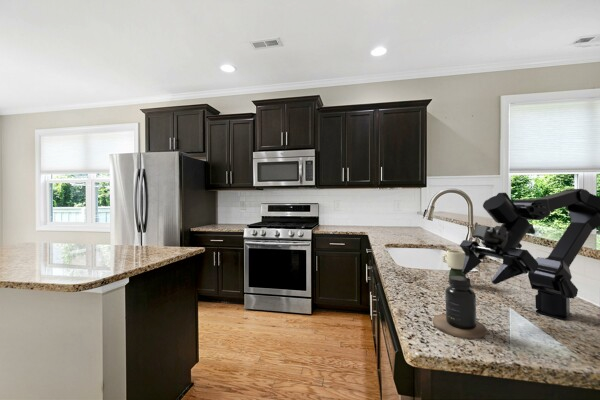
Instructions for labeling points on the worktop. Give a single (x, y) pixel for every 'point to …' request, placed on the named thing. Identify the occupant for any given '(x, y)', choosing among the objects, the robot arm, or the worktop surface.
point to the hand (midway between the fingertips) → (477, 278)
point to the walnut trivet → (443, 326)
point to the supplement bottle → (460, 303)
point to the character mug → (455, 262)
